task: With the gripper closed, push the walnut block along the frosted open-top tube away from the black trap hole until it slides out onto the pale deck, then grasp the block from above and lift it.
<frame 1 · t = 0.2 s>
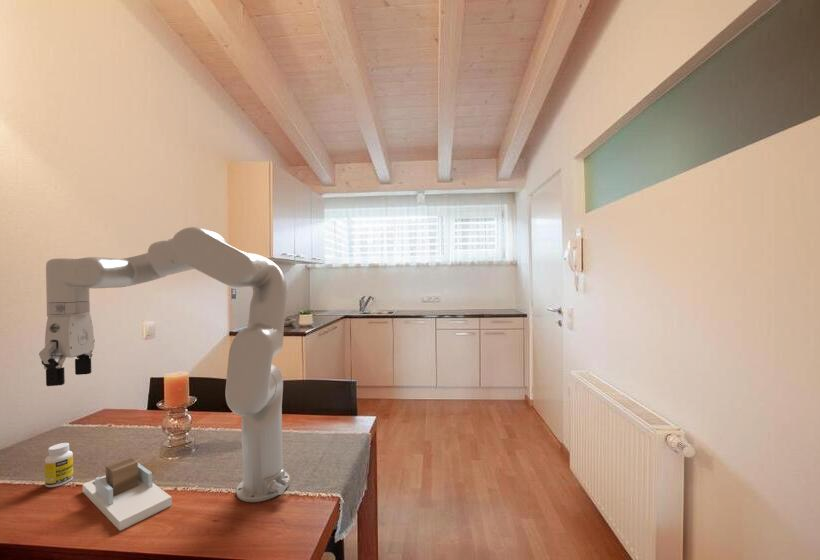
hand: (70, 379, 86), 30 cm above the table, tool pointing down, fingers open, 9 cm apart
supplement bottle: (59, 482, 95), on the table
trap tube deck: (125, 498, 87), on the table
walnut block: (122, 487, 88), point 2 cm above the table, touching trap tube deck
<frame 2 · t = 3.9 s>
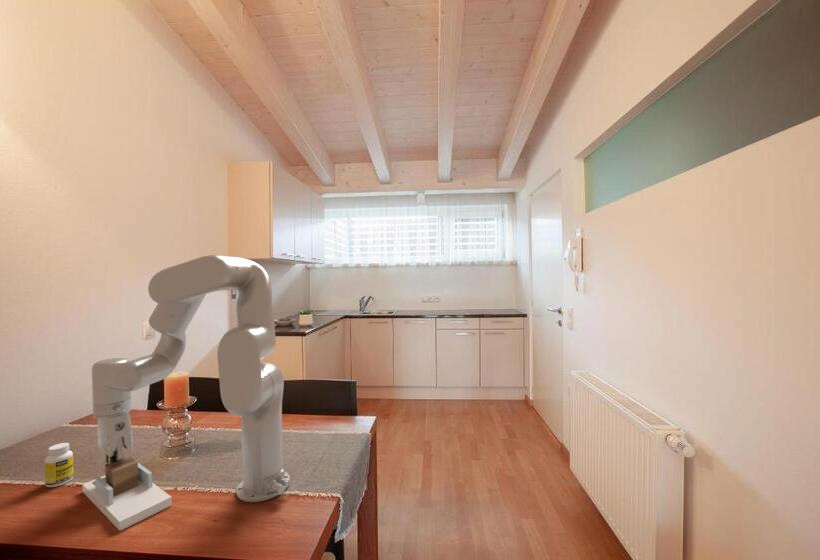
hand: (114, 477, 91), 3 cm above the table, tool pointing down, fingers closed
walnut block: (122, 487, 88), point 2 cm above the table, touching gripper, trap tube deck
everything else where it was.
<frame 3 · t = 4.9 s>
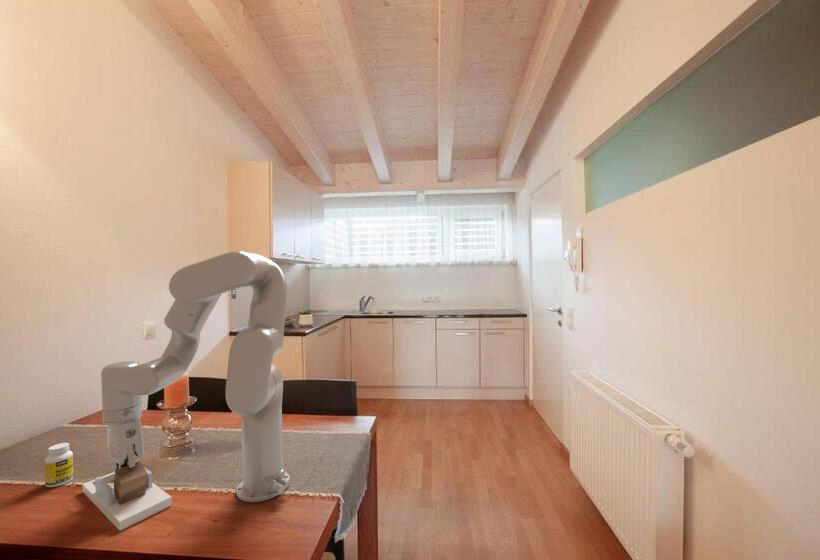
hand: (125, 486, 87), 3 cm above the table, tool pointing down, fingers closed
walnut block: (129, 492, 85), point 3 cm above the table, tilted 19°, touching gripper, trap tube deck
everything else where it was.
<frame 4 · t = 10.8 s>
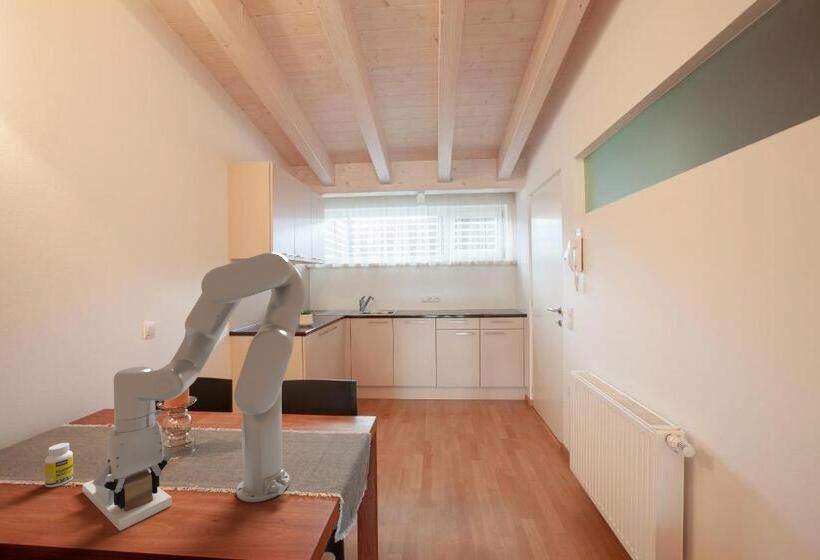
hand: (137, 498, 82), 3 cm above the table, tool pointing down, fingers closed on walnut block, 5 cm apart
walnut block: (136, 501, 82), point 2 cm above the table, touching gripper
everything else where it was.
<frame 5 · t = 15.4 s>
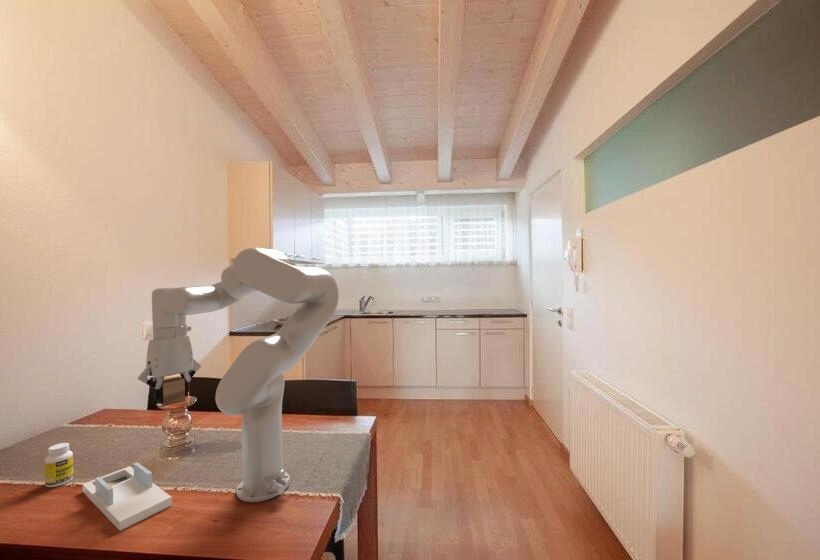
hand: (172, 398, 96), 21 cm above the table, tool pointing down, fingers closed on walnut block, 5 cm apart
walnut block: (171, 401, 96), point 20 cm above the table, touching gripper
everything else where it was.
at the end: the gripper is holding walnut block; walnut block point 20.4 cm above the table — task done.
